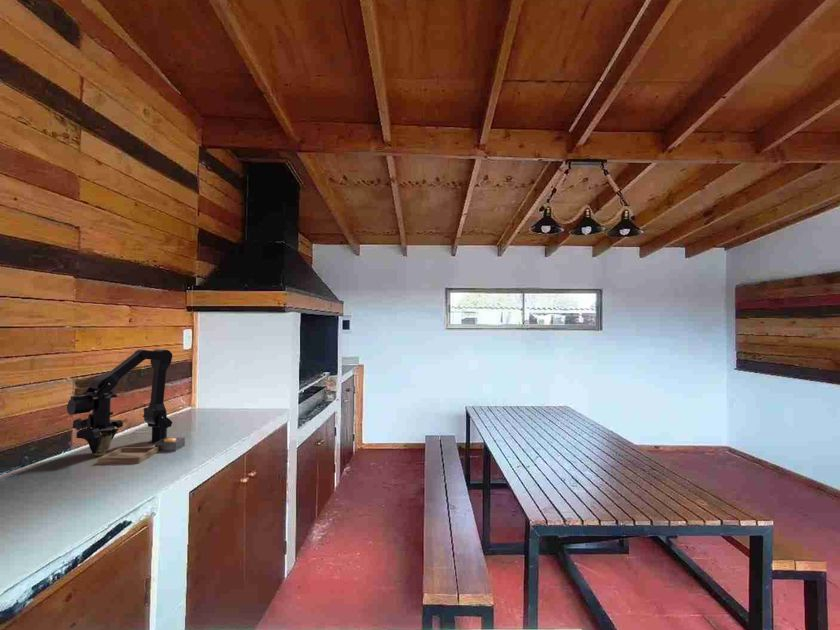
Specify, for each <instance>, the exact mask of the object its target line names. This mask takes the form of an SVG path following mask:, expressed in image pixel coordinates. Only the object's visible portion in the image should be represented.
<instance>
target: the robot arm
mask: <svg viewBox="0 0 840 630" xmlns="http://www.w3.org/2000/svg"><path fill="white" fill-rule="evenodd" d="M145 360H150V365H151V367H152V369H153V373H152V381H151V382H152V383H151V391H150V402H149V405H148V406H147V407H143V415H142V418H143V420H144V421H145V423H146V424H147V426H148V427H149V428H151V439H150V440H148V441H147V443H148V444H151V443H152V444H155V442H157V441H159V440H161V439H163V438H168V428H171V427H172V425H173V421H172V420H171V419H170V418H168V416H167V409H166V407H165V403H164V401H165V400H164V399H165V391H166V390H165V389H166V381H167V380H166V378H167V371H168V368H169V367H170V365H171V363H172V360H173V353H172V352H171V351H170V350H169V349H159V348H157V349H154V350H147V349H137V350H135V352H133V353H132V354H131V355H130V356H128V357H127V358H125V359H124V361H122V362H121V363H119V364H118V365H117V366H115V367H114V368H113V369H112V370H110V371H108V372H105V373H103V374H100V375H99V376H97V377H95V378H93V379H92V380H91V381H90V385H89V387H88V388H87V389H86V390H84V393H83V394H81V395H71V396H70V399H69V400H68V402H67V404H66V411H67V413H68V415H70V416H74V415H81V414H86V413H89V415H88V416H87V418H85V419H82V418H78V419H74V420H73V421H72V428H73V429H76V431H77V432H76V433H75V439H83V440H85V441H86V442H87V444H88V445H89V449H90V451H91V453H92V454H93V455H94V454H96V452H97V450H98V447H99V444H100V441H101V438H102V435H99V434H100V433H101V434H102V433H104V432H105V433H108V435H109V434H111V433H112V439H111V442H112V441H113V439H114V437H115V436H116V435H117V432H118V431H119V430H120V429H121V428H122V427H124V425H123V424H124V422H123V421H122V420H121V419H111V415H114V411H111V409H112V407H111V405H112V403H111V402H112V401H111V400H112V398H117V397H118V395H117V394H116V393H114V392H113V390H115V388H116V387H117V386H118V384H119V382H120V380H121V379H122V378H123V377H125V376H126V375H127V374H129V373H130V372H131V371H133V369H135V368H136V367H138V366H139V365H140V364H141V363H142V362H144V361H145ZM90 412H91V413H90ZM119 428H120V429H119Z"/></svg>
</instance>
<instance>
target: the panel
mask: <svg viewBox="0 0 840 630" xmlns="http://www.w3.org/2000/svg"><path fill="white" fill-rule="evenodd" d="M167 438H168V437H167ZM167 438H163V439H161V440H159V441H157V442H155V443H154V447H159V451H162V452H177V451H178V449H179V450H180V449H181V447H182V448H183V446H184V447H185V446H186V444H185V443H186V437H185V436H184V437H182V436H181V437H174V436H173V437H172V438H176V441H174V442H164V439H167ZM176 450H177V451H176Z"/></svg>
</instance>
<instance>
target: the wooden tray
mask: <svg viewBox="0 0 840 630" xmlns="http://www.w3.org/2000/svg"><path fill="white" fill-rule="evenodd" d="M159 453H160V452H159V447H155V446H140V447H135V446H134V447H133V446H132V447H130V446H129V447H119V448H117V449H115V450H112V451H111V452H109V453H105V455H103V456H99V457H98V458H97V464H98V465H121V464H123V465H125V464H126V465H129V464H140V463H142V462H144V461H145V460H147V459H149V458H151V457H153V456H154V455H156V454H159Z"/></svg>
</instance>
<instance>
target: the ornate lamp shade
mask: <svg viewBox="0 0 840 630" xmlns="http://www.w3.org/2000/svg"><path fill="white" fill-rule="evenodd" d="M99 435H102V438H101V441H100V444H99V447H98V450H97V452H96V454H93V456H94V457H102V456H104V455H106V454H107V450H108V449H110V446H111V444H112V441H111V439H112V433H111V434H109V435H108V433H105V432H104V433H102V434H101V433H100V434H99ZM112 440H113V439H112Z"/></svg>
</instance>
